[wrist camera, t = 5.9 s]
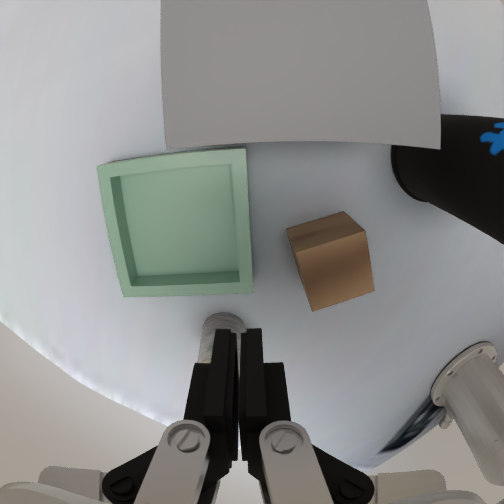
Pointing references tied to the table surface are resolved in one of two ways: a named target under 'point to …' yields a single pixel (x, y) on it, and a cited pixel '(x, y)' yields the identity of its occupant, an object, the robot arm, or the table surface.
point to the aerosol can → (459, 171)
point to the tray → (179, 222)
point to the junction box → (299, 72)
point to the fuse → (209, 332)
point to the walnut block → (332, 259)
